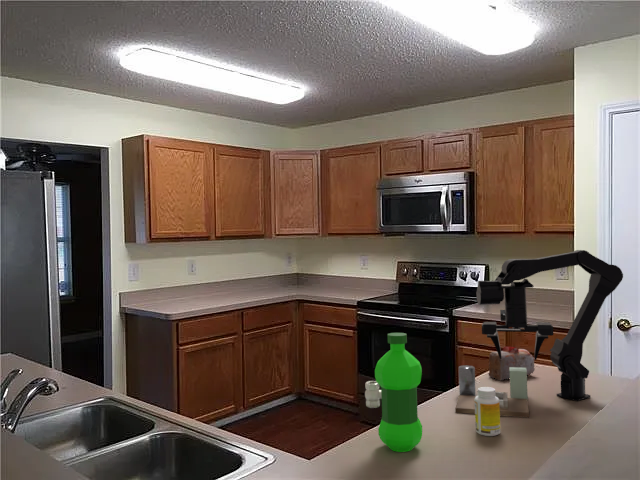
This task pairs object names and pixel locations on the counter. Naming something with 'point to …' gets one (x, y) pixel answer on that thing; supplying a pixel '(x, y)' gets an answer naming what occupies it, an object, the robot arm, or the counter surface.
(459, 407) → the bore board
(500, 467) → the counter surface
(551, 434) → the counter surface
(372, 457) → the counter surface
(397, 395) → the plastic bottle
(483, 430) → the supplement bottle
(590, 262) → the robot arm
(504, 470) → the counter surface
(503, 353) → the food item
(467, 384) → the round peg
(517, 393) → the square peg
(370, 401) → the valve
